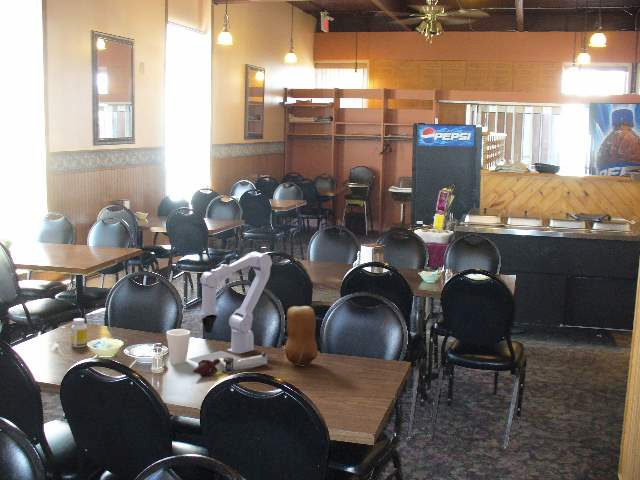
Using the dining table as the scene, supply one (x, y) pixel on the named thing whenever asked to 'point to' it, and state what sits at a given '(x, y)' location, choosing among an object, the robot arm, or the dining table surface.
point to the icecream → (206, 367)
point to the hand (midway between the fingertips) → (208, 332)
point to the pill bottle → (79, 333)
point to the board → (220, 366)
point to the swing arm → (246, 361)
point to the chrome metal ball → (228, 368)
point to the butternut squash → (301, 335)
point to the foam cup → (178, 345)
